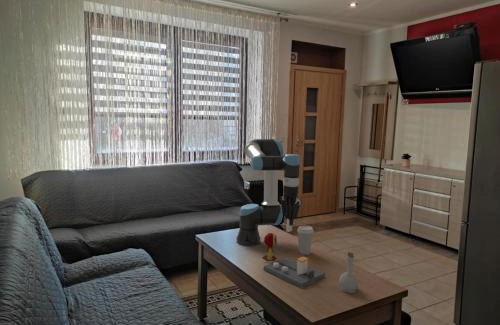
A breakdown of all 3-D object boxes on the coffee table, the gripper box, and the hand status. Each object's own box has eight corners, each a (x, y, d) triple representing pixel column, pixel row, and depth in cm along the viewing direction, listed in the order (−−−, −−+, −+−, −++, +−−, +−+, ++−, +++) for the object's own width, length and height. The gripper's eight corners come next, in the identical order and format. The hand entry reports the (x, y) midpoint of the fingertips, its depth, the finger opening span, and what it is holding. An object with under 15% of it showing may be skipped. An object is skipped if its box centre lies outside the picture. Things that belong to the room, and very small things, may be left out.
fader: (296, 272, 171) (297, 258, 170) (302, 269, 174) (302, 256, 173) (301, 274, 168) (302, 260, 167) (307, 272, 171) (308, 258, 171)
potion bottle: (334, 289, 160) (337, 251, 157) (345, 283, 166) (347, 246, 164) (352, 296, 153) (354, 257, 151) (362, 289, 160) (364, 252, 157)
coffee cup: (312, 250, 207) (313, 225, 205) (313, 256, 198) (314, 230, 196) (296, 249, 208) (297, 224, 206) (296, 255, 199) (297, 229, 197)
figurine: (279, 262, 187) (280, 236, 185) (260, 262, 187) (261, 235, 185) (277, 256, 196) (278, 231, 194) (260, 256, 196) (261, 230, 194)
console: (263, 269, 178) (263, 260, 178) (286, 260, 190) (287, 252, 190) (301, 287, 160) (302, 277, 159) (324, 276, 172) (325, 267, 171)
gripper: (276, 184, 175) (274, 229, 178) (296, 188, 165) (294, 236, 168) (286, 182, 180) (284, 226, 183) (306, 186, 170) (303, 232, 174)
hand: (289, 231), depth 176 cm, fingers closed
